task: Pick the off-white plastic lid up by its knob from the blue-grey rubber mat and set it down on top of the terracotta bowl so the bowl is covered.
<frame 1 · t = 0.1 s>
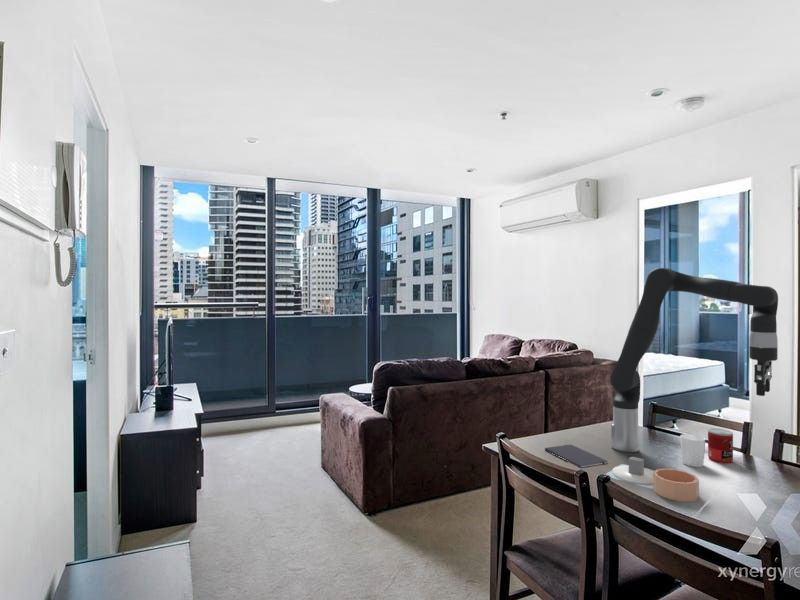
hand: (763, 393, 159), 29 cm above the table, fingers open, 8 cm apart
lid: (636, 475, 163), resting on mat
bowl: (675, 494, 149), on the table
notebook: (575, 458, 184), on the table
white cup: (692, 464, 175), on the table
mat: (636, 476, 163), on the table
canned food: (720, 460, 179), on the table
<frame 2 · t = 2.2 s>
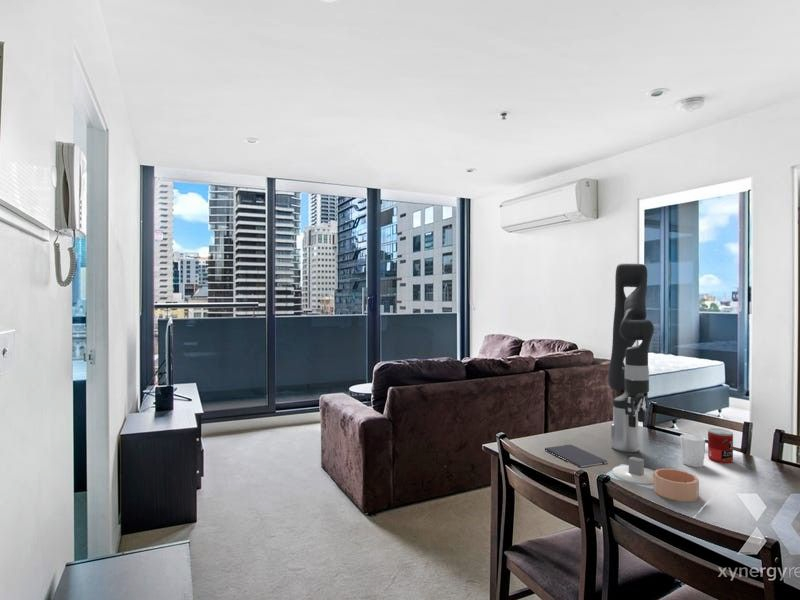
hand: (636, 424, 163), 18 cm above the table, fingers open, 8 cm apart
nothing on the table moved.
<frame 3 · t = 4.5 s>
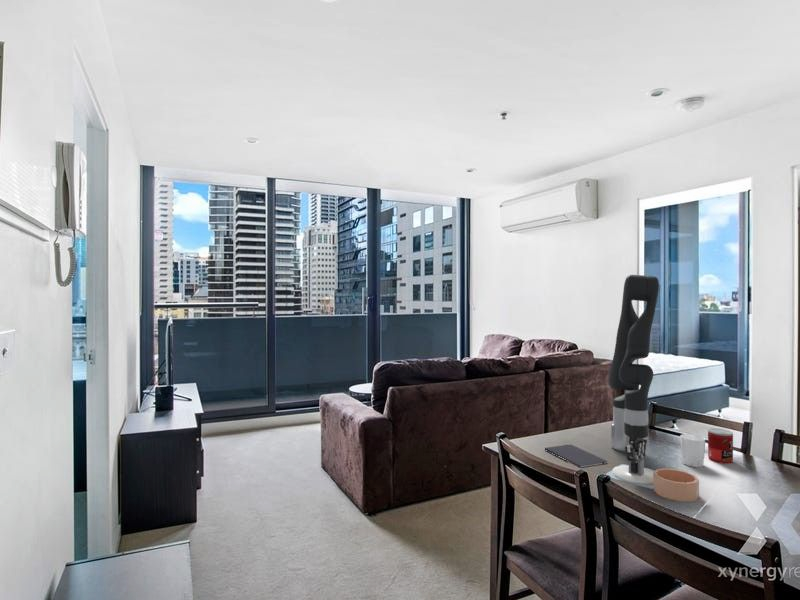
hand: (636, 471, 163), 2 cm above the table, fingers closed on lid, 3 cm apart
lid: (636, 475, 163), resting on mat, touching gripper
everything else where it was.
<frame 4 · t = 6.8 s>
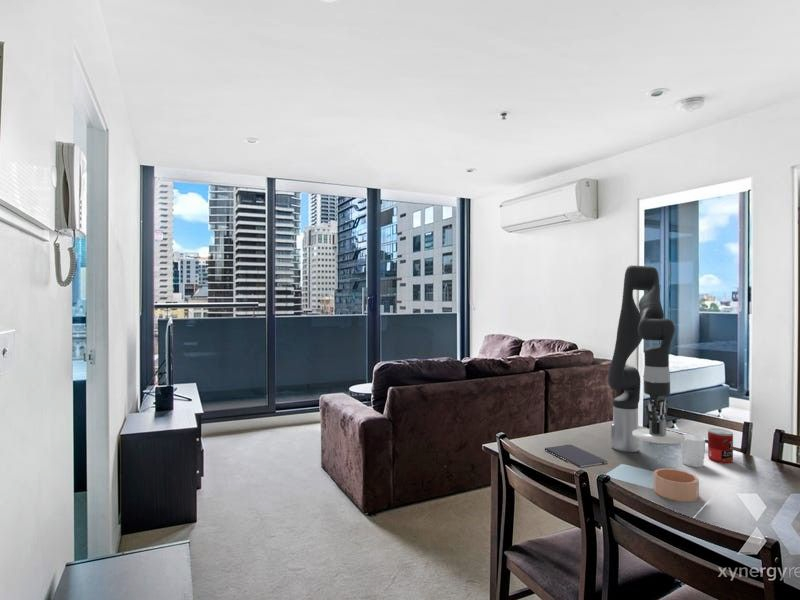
hand: (657, 432, 155), 18 cm above the table, fingers closed on lid, 3 cm apart
lid: (657, 437, 155), point 16 cm above the table, touching gripper
everything else where it was.
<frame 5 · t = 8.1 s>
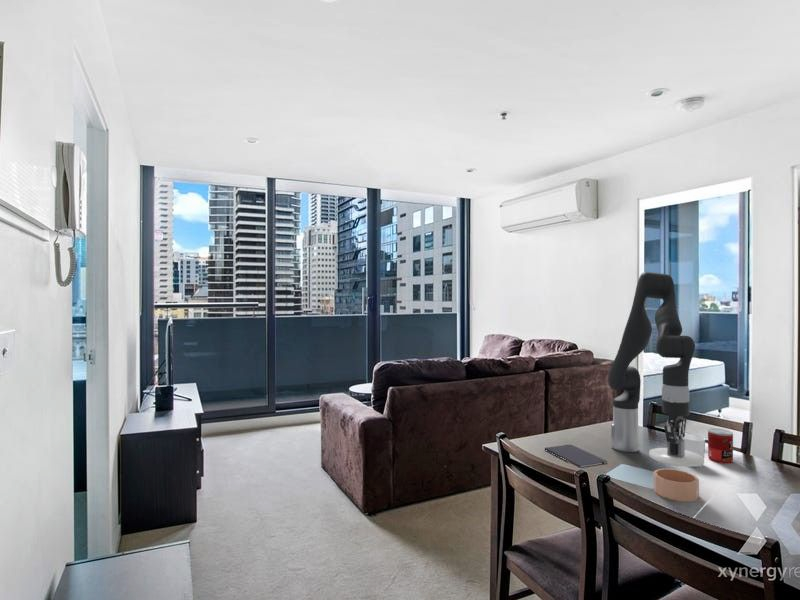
hand: (675, 453, 149), 13 cm above the table, fingers closed on lid, 3 cm apart
lid: (675, 457, 149), point 11 cm above the table, touching gripper
everything else where it was.
when the fingers open (9 cm above the table, at t = 9.0 s): lid drops 2 cm, resting on bowl.
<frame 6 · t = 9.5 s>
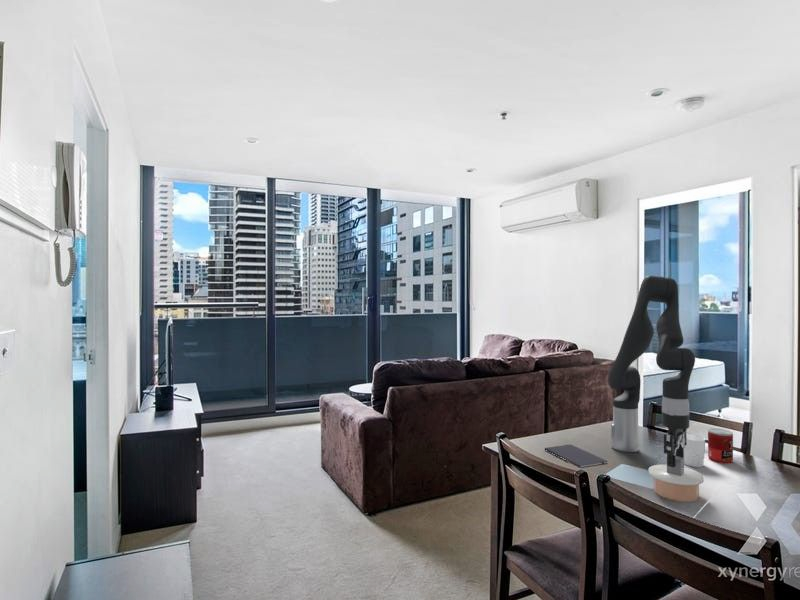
hand: (675, 463, 149), 10 cm above the table, fingers open, 7 cm apart
lid: (675, 475, 149), point 6 cm above the table, touching bowl
bowl: (675, 494, 149), on the table, touching lid
everything else where it was.
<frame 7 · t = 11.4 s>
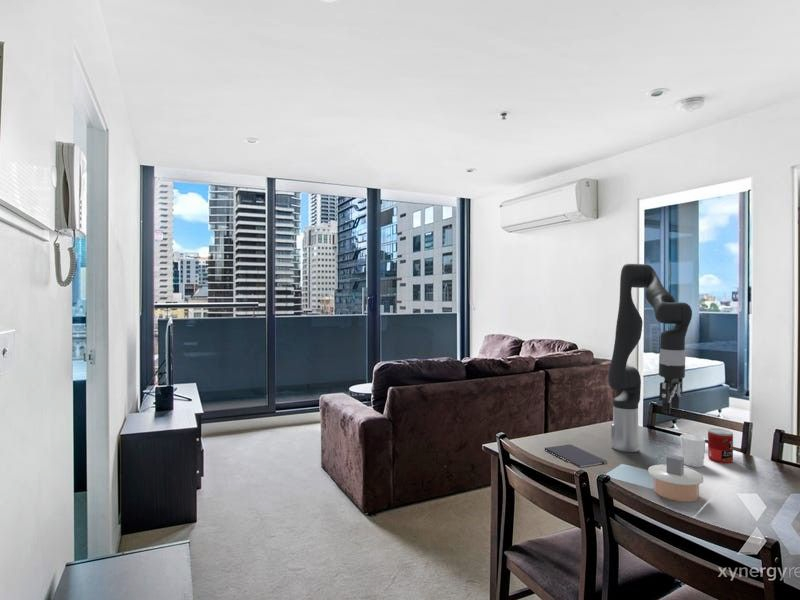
hand: (670, 410, 157), 24 cm above the table, fingers open, 8 cm apart
nothing on the table moved.
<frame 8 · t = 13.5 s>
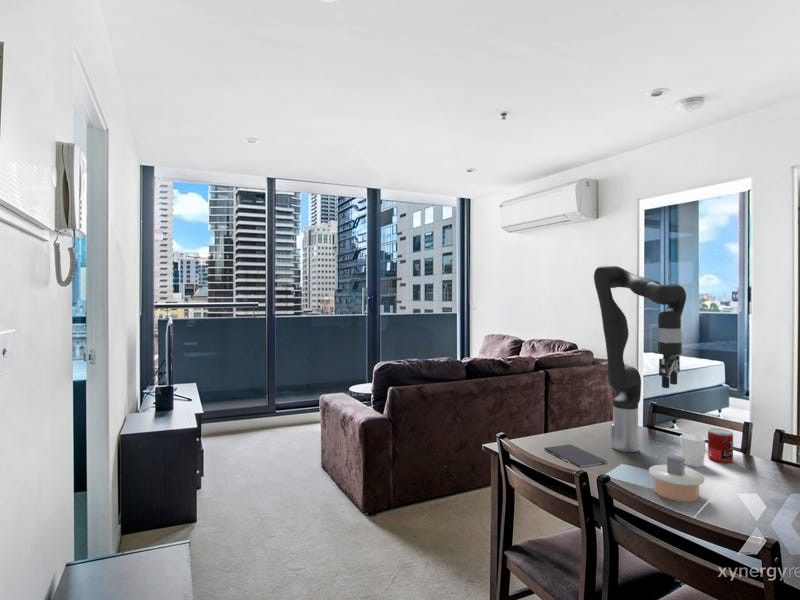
hand: (669, 386, 169), 30 cm above the table, fingers open, 8 cm apart
nothing on the table moved.
at the end: lid 0.1 cm off-centre on the bowl, point 6.0 cm above the bowl's base; lid tilted 0°; the gripper is holding nothing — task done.
